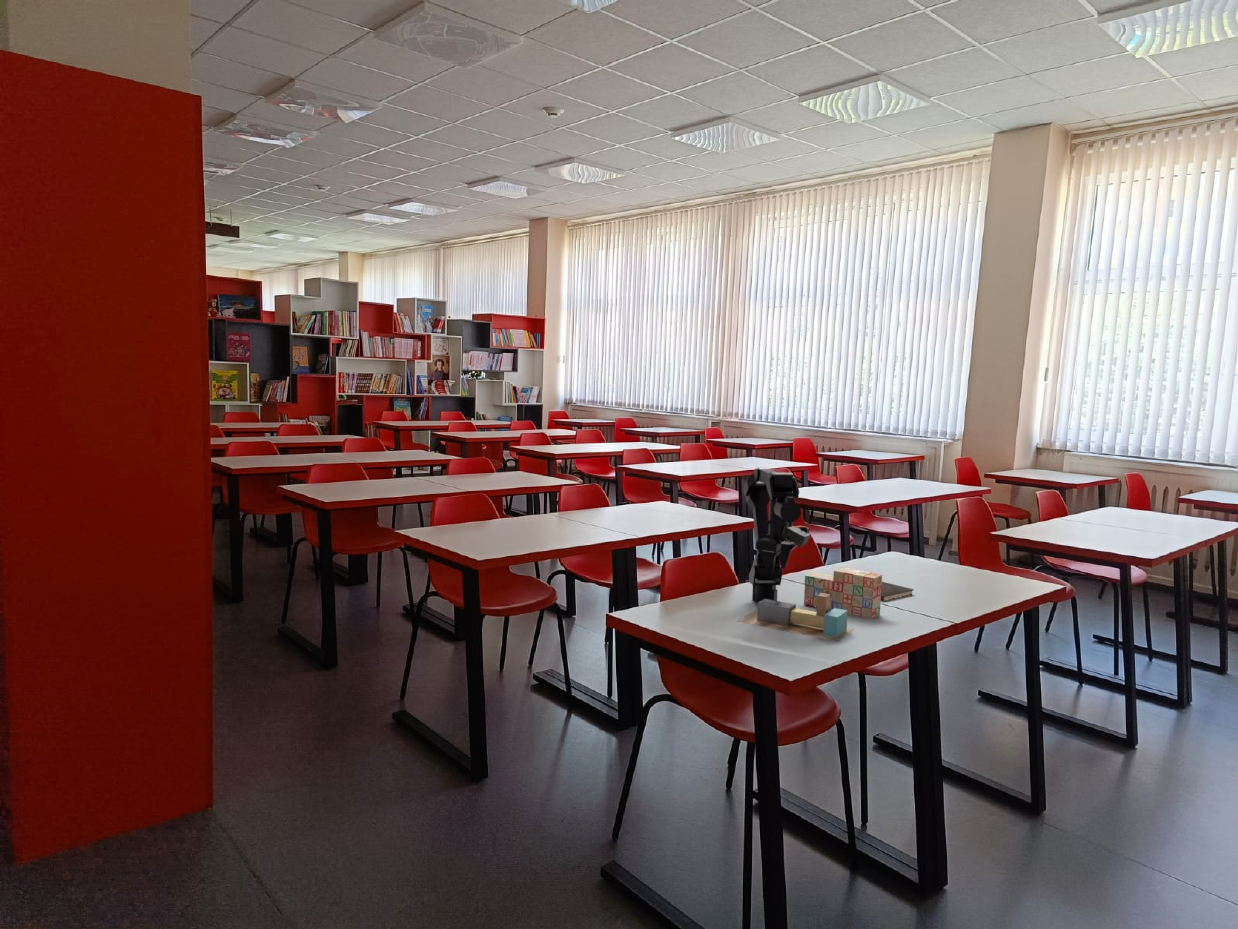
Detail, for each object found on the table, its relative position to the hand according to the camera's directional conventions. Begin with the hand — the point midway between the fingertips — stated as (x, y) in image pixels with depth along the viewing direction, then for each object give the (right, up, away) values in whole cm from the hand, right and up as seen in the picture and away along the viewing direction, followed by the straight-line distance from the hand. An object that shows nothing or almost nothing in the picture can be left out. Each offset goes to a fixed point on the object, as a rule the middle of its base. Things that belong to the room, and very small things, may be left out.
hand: (777, 571), depth 214 cm
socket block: (+12, -14, -17) cm, 25 cm away
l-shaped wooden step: (+4, -12, -12) cm, 18 cm away
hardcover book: (+37, -12, +34) cm, 52 cm away
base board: (+3, -14, -10) cm, 18 cm away
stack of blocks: (+21, -13, +9) cm, 26 cm away
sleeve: (-2, -13, -7) cm, 15 cm away
